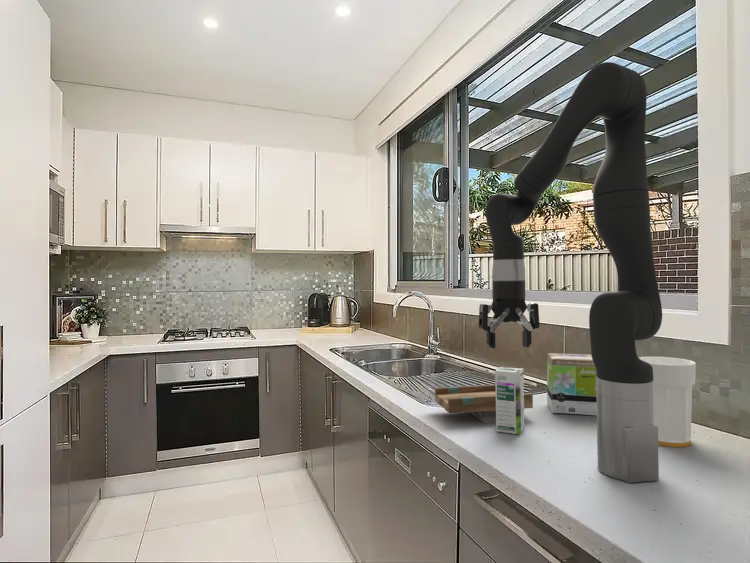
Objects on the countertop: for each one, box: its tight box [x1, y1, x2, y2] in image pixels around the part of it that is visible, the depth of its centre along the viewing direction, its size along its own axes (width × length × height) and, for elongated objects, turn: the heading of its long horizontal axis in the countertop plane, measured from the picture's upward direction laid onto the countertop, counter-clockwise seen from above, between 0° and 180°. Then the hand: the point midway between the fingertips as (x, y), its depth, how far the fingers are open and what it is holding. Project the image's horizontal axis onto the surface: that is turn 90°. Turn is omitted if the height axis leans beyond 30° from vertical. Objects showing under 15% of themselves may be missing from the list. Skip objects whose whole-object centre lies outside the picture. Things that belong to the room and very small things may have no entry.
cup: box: [638, 355, 697, 448], centre depth 100 cm, size 11×11×17 cm
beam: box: [434, 384, 534, 424], centre depth 120 cm, size 12×22×8 cm, turn 99°
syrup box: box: [494, 366, 525, 436], centre depth 108 cm, size 6×6×14 cm
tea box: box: [546, 352, 597, 417], centre depth 123 cm, size 15×10×15 cm, turn 76°
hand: (509, 347), depth 108 cm, fingers open, 8 cm apart
